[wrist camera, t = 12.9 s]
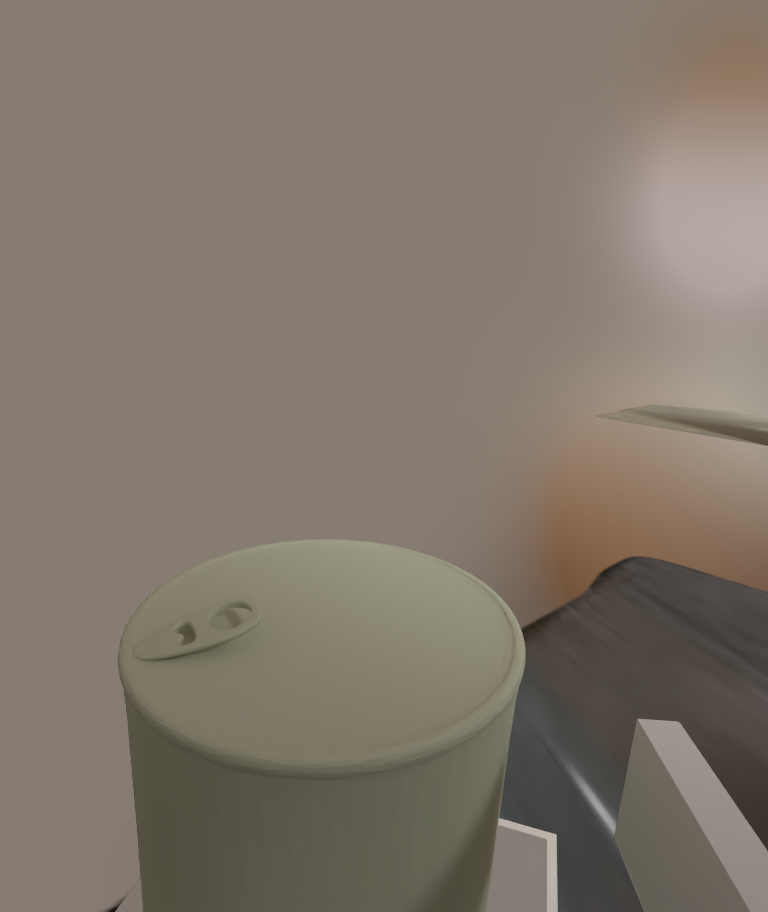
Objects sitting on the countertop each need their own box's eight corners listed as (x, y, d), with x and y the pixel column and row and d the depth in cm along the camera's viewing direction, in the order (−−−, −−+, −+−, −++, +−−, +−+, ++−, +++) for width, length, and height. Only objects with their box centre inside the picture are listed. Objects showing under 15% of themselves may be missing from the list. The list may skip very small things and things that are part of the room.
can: (135, 888, 18) (110, 545, 15) (388, 794, 22) (408, 510, 19) (161, 1363, 10) (117, 826, 7) (551, 1075, 14) (628, 660, 11)
